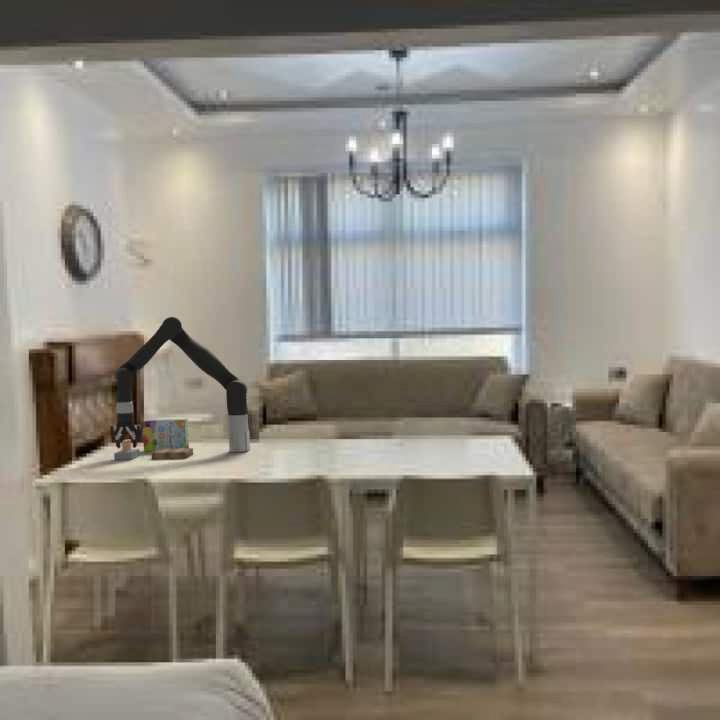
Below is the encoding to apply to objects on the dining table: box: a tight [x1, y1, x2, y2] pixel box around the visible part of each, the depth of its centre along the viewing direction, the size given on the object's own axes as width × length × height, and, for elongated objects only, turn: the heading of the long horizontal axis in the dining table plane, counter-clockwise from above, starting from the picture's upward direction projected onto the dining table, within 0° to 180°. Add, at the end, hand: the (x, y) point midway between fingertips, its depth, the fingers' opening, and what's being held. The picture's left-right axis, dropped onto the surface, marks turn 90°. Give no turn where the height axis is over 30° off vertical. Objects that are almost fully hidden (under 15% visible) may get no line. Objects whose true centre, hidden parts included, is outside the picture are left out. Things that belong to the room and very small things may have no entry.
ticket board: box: [151, 447, 194, 460], centre depth 420 cm, size 16×12×3 cm
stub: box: [113, 438, 141, 461], centre depth 422 cm, size 8×12×8 cm, turn 176°
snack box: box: [142, 418, 190, 452], centre depth 442 cm, size 21×6×15 cm, turn 84°
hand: (126, 447), depth 421 cm, fingers open, 6 cm apart
